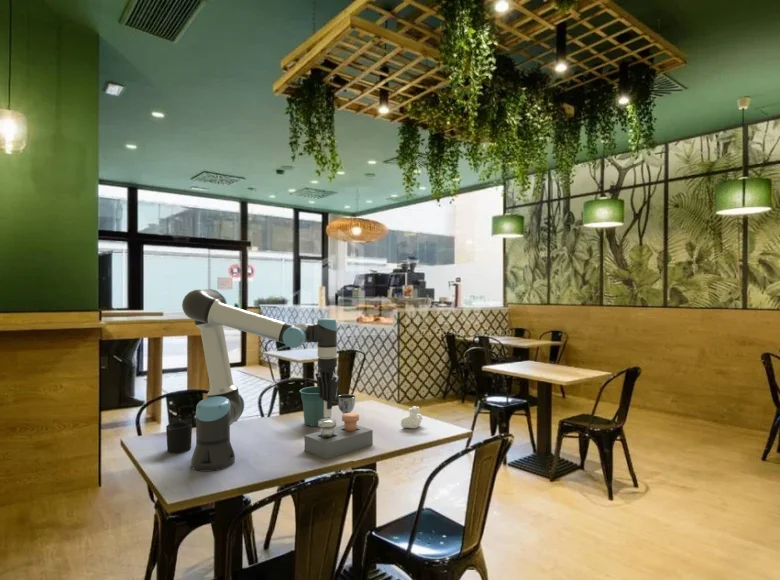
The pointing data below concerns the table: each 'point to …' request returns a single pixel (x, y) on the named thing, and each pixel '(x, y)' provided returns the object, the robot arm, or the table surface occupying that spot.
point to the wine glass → (346, 403)
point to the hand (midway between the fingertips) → (327, 416)
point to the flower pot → (312, 406)
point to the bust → (412, 418)
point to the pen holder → (179, 437)
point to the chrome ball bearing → (327, 427)
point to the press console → (338, 442)
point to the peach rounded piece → (350, 421)
